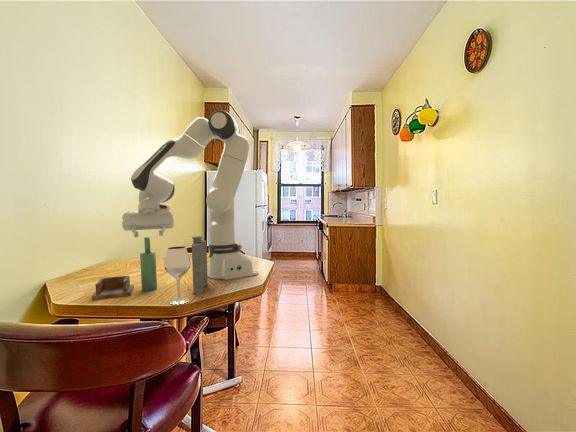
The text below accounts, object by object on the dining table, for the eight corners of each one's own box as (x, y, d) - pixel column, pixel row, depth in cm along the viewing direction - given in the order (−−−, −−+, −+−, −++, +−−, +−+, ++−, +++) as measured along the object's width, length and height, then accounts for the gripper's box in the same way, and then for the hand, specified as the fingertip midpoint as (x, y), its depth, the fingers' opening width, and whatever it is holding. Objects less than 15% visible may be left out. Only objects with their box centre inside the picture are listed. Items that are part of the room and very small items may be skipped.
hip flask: (201, 294, 111) (199, 238, 110) (190, 294, 110) (188, 238, 110) (208, 283, 127) (206, 234, 126) (198, 283, 126) (196, 234, 125)
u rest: (133, 287, 123) (133, 274, 123) (130, 295, 112) (129, 281, 112) (98, 291, 119) (98, 277, 118) (91, 299, 107) (91, 285, 107)
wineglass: (183, 306, 98) (181, 249, 97) (160, 305, 99) (158, 249, 99) (196, 298, 106) (194, 246, 105) (174, 297, 107) (172, 246, 107)
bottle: (157, 286, 123) (155, 236, 122) (157, 290, 118) (154, 237, 117) (142, 288, 121) (139, 237, 120) (141, 291, 116) (138, 238, 115)
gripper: (121, 207, 132) (119, 232, 123) (173, 206, 139) (174, 229, 130) (123, 217, 136) (121, 242, 127) (173, 215, 143) (174, 238, 135)
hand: (148, 235), depth 129 cm, fingers open, 8 cm apart
